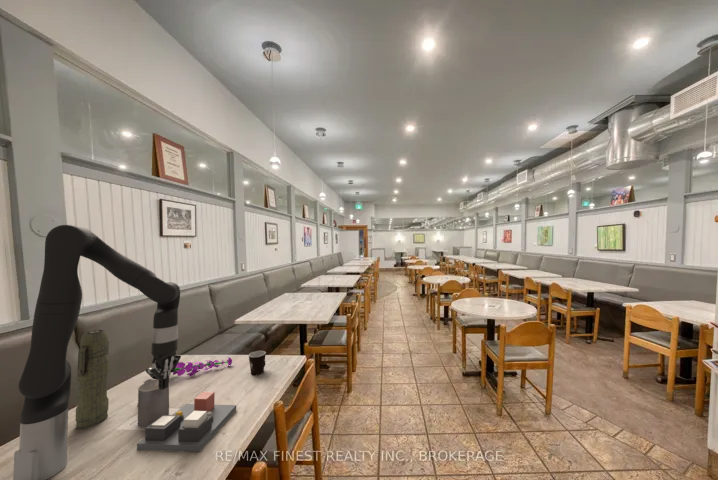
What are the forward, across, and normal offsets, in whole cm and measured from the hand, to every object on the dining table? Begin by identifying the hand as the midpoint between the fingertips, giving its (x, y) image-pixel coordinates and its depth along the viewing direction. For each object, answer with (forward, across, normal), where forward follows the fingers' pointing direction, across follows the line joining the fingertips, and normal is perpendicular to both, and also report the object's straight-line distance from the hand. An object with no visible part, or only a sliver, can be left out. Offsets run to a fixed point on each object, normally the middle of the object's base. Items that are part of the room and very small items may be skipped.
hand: (163, 388), depth 90 cm
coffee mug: (+17, +48, -11) cm, 53 cm away
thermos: (+18, +8, +37) cm, 42 cm away
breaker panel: (+18, +6, -6) cm, 20 cm away
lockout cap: (+15, +13, -6) cm, 21 cm away
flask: (+18, +20, +25) cm, 37 cm away
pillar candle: (+18, +10, +13) cm, 24 cm away
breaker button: (+13, 0, -12) cm, 18 cm away
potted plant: (+18, +48, +24) cm, 57 cm away
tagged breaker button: (+15, 0, 0) cm, 15 cm away
